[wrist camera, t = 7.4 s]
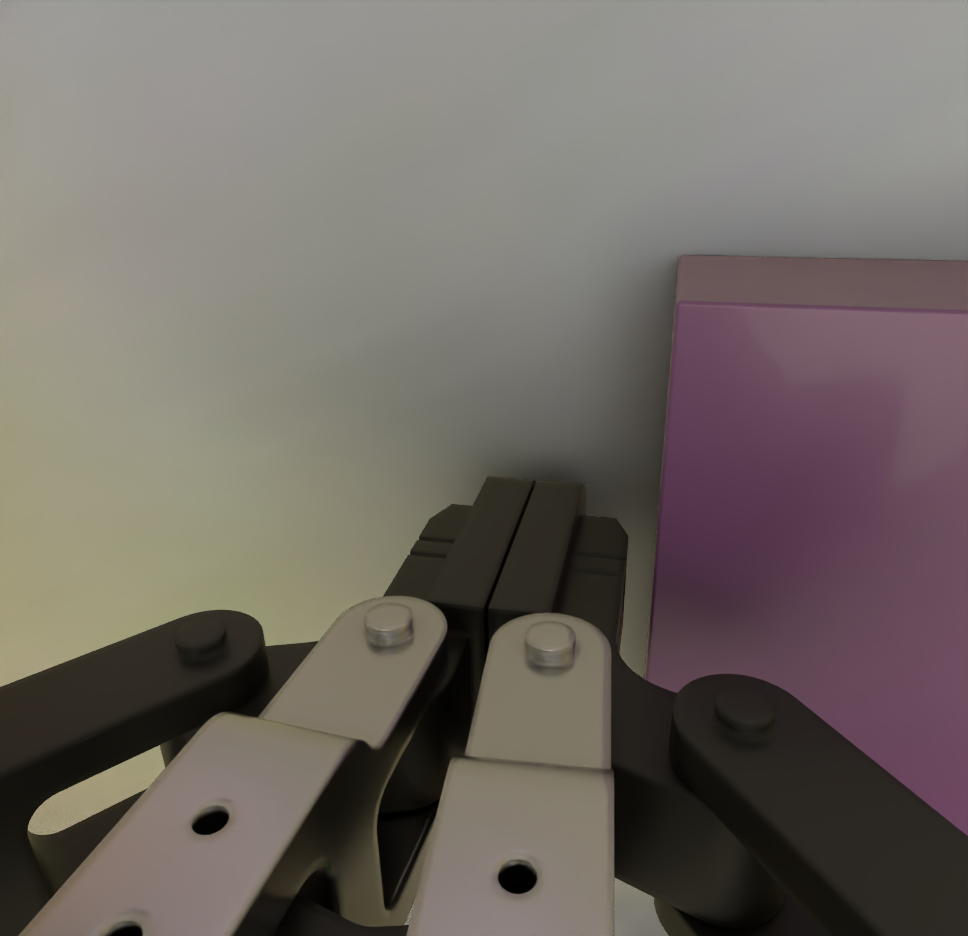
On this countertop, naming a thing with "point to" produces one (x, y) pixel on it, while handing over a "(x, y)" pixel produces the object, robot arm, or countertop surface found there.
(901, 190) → the countertop surface
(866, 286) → the plum block
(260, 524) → the countertop surface
